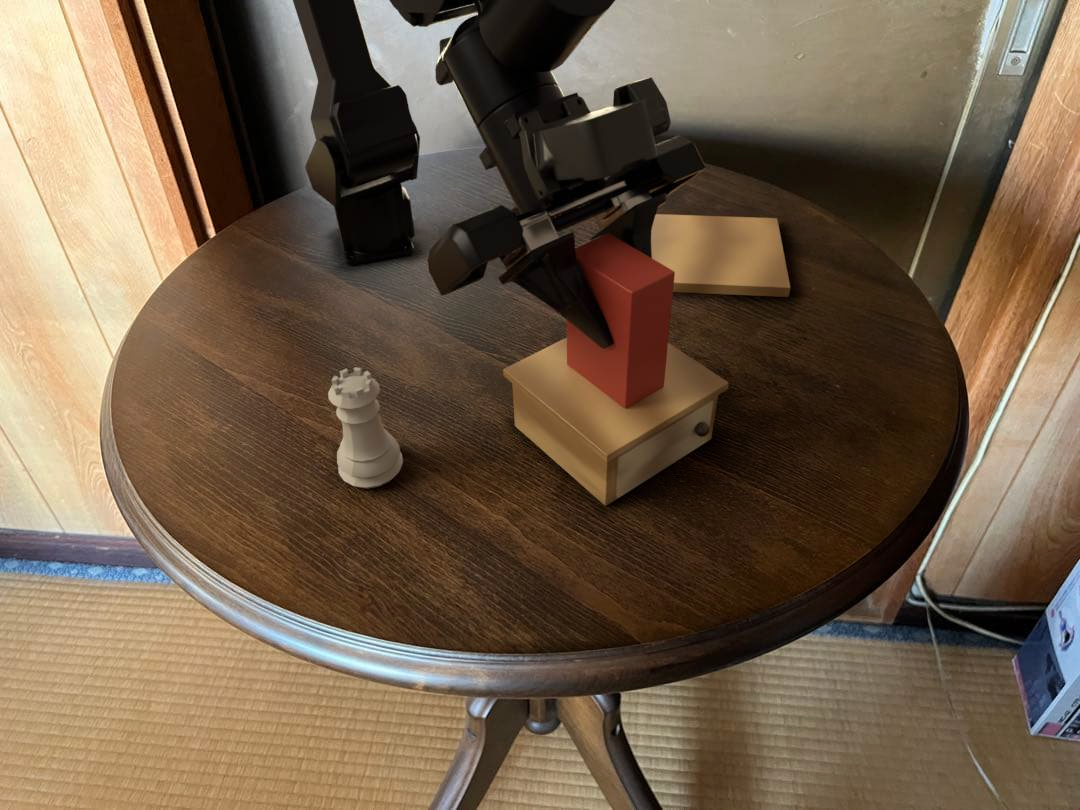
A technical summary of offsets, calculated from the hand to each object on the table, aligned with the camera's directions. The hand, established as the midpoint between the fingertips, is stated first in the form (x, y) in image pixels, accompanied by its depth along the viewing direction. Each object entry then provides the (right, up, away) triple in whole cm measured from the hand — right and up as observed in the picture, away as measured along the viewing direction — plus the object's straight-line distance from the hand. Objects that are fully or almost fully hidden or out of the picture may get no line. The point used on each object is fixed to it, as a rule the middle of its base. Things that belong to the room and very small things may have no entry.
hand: (631, 334), depth 53 cm
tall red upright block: (-1, -2, +4) cm, 4 cm away
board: (+10, +9, +24) cm, 28 cm away
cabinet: (-1, -6, +7) cm, 10 cm away
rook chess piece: (-17, -9, +5) cm, 20 cm away
